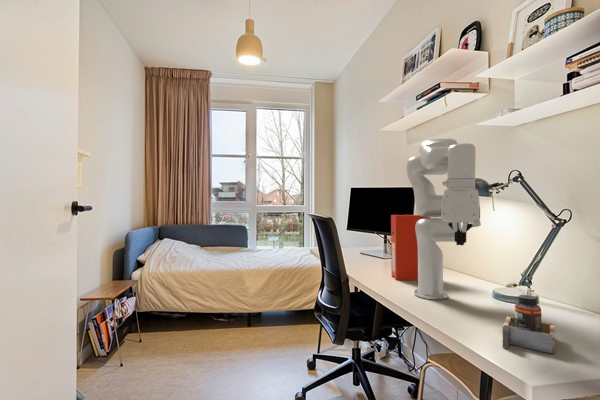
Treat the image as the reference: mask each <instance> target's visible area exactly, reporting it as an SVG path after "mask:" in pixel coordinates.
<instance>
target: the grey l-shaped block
mask: <svg viewBox="0 0 600 400" xmlns="http://www.w3.org/2000/svg"><path fill="white" fill-rule="evenodd" d="M510 345H513V346H517V347H521V348H526V349H531V350H535V351H539V352H543V353H546V354H547V353H548V354H552V355H553V353H552V334H547V333H542V332H537V331H532V330H527V329H522V328H517V327H512V326H507V325H504V328H503V327H502V348H503V349H506V350H507V349H509V347H510Z"/></svg>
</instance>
